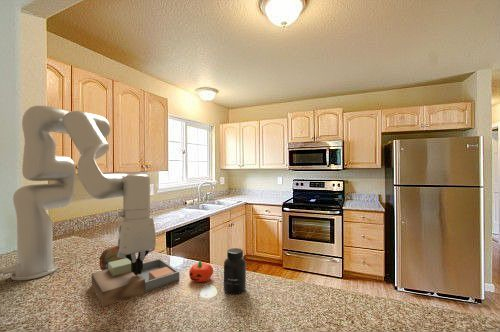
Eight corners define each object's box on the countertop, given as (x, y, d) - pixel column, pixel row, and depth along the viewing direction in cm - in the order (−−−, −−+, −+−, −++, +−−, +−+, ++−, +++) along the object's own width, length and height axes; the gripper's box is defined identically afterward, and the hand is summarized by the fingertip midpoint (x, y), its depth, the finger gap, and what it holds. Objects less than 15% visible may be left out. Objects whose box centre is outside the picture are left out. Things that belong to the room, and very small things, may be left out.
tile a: (174, 272, 80) (174, 279, 80) (166, 266, 84) (166, 273, 84) (155, 277, 76) (155, 285, 76) (148, 271, 80) (148, 279, 80)
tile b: (113, 276, 75) (113, 268, 75) (108, 270, 79) (108, 262, 80) (133, 270, 79) (133, 262, 79) (128, 265, 84) (128, 257, 84)
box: (145, 292, 73) (145, 282, 73) (129, 275, 85) (129, 266, 85) (179, 280, 80) (179, 271, 80) (160, 266, 92) (160, 258, 92)
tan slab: (102, 306, 65) (102, 292, 65) (91, 285, 77) (91, 273, 77) (144, 292, 73) (144, 279, 73) (128, 275, 85) (128, 263, 85)
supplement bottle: (228, 297, 70) (228, 256, 70) (220, 287, 76) (220, 249, 76) (249, 291, 73) (249, 252, 73) (240, 282, 79) (240, 245, 79)
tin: (105, 276, 84) (105, 251, 84) (97, 275, 85) (97, 251, 85) (133, 259, 99) (133, 239, 99) (127, 259, 100) (127, 238, 100)
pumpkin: (214, 283, 79) (215, 265, 79) (189, 287, 77) (189, 268, 76) (211, 272, 86) (211, 254, 85) (188, 275, 84) (188, 257, 83)
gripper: (112, 219, 67) (113, 285, 67) (165, 212, 77) (165, 270, 77) (106, 215, 73) (106, 276, 73) (156, 209, 83) (156, 263, 83)
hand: (137, 273), depth 75 cm, fingers closed
